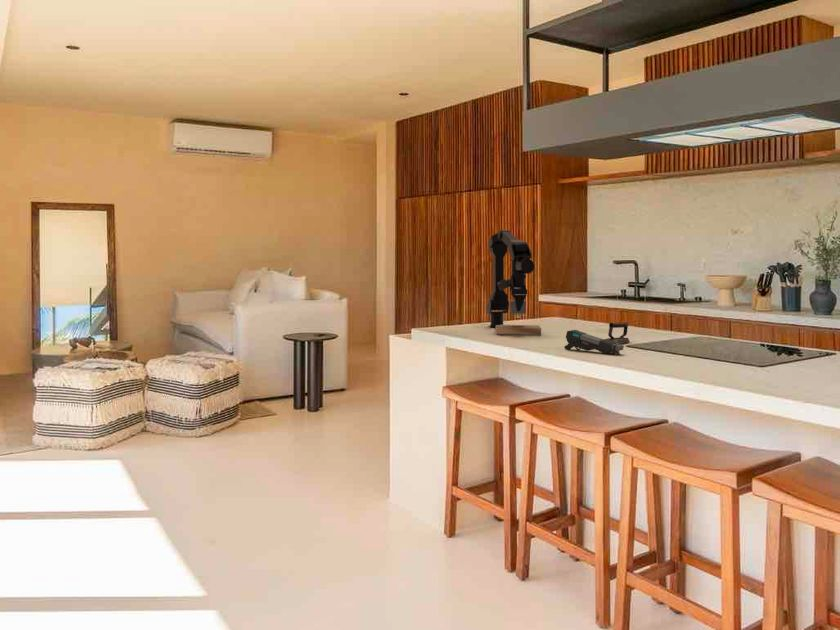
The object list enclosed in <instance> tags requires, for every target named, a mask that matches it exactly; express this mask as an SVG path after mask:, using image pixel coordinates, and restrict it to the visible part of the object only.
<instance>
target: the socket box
mask: <svg viewBox="0 0 840 630" xmlns="http://www.w3.org/2000/svg"><path fill="white" fill-rule="evenodd" d="M496 335H501V336H509V337H510V336H511V337H512V336H514V337H517V336H518V337H519V336H520V337H521V336H522V337H542V327H541V326H540V325H536V324H533V325H532V324H531V325H530V324H529V325H527V324H526V325H525V324H524V325H523V324H521V325H520V324H517V325H516V324H514V325H513V324H511V325H510V324H503V325H496V327H495V336H496ZM501 336H500V337H501Z"/></svg>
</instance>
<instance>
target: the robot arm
mask: <svg viewBox="0 0 840 630" xmlns="http://www.w3.org/2000/svg"><path fill="white" fill-rule="evenodd" d="M487 242H488V248H489V253H490V255H491V257H492V264H493V265H492V277H493V278H492V281H493V282H492V284H493V285H492V289H493V290H492V291H491V293H490V295H489V300H488V302H487V306H486V307H485V311H486V314H490V324H489V328H496V325H504V314H508V312H509V308H510V307H509V306H510V301H509V295H508V294H507V292H506V291H505V289H509V292H510V294H511V295H510V296H512V297H513V298H514V300H515V302H516V308H517V311H520V309H521V307H522V304H523V302H524V300H525V301H526V297H527V295H528V289H527V288H526V287H527V286H526V277H527V276H526V275H528V274H531V273H533V272H534V270H535V268H536V267H535V262H534V261H533V260H532V255H533V254H532V251H531V249H530V246H529V244H528V242H527V241H524V240H520V239H518V238H517V237H516V236H515V235H514V234H513V233H512V232H511V231H510V230H508V229H506V230H505V229H502V230H501V229H500V230H498V231H497V232H496V233H495V234H493V235H491V237H489V239H488V241H487ZM508 252H509V255H510V257H511V258H510V261H511V273H510V276H509V277H510V278H508V279H505V269H504V268H505V266H504V265H505V259H504V258H505V256H506V255H507V253H508Z"/></svg>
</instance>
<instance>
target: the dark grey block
mask: <svg viewBox="0 0 840 630" xmlns="http://www.w3.org/2000/svg"><path fill="white" fill-rule="evenodd" d="M509 306H510V307H509V308H510V309H509V310H510V314H511V315H512V314H514V318H517V319H521V318H522V315H523V314H525V315H526V314H527V312H526V310H527V309H526V306H527V301H526V299H525V300H524V302H523V304H522V307H521V309H520V311H517V308H516V302H515V300H513V299H510V301H509Z"/></svg>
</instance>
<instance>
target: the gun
mask: <svg viewBox="0 0 840 630" xmlns="http://www.w3.org/2000/svg"><path fill="white" fill-rule="evenodd" d="M565 339H566V342H567V344H566V345H564V346H563V348H564V350H565V351H569V350H571V349H573V348H575V350H577V351H580V350H583V351H587V352H589V351H594V350H595V351H598V352H600V353H603V354H605V355H607V354H611V355H614V356H618V355H620V354H621V353H620V351H623V350H624V347H625V344H624V345H621V344H618V343H617V342H613V341H610V340H607V338H601V337H598V336H595V335H592V334H588V333H587V332H585V331H584V332H583V331H580V330H577V329H571V330H566V335H565Z"/></svg>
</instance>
